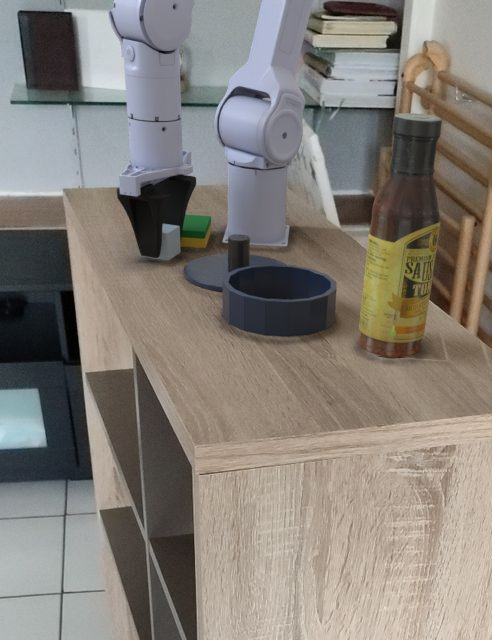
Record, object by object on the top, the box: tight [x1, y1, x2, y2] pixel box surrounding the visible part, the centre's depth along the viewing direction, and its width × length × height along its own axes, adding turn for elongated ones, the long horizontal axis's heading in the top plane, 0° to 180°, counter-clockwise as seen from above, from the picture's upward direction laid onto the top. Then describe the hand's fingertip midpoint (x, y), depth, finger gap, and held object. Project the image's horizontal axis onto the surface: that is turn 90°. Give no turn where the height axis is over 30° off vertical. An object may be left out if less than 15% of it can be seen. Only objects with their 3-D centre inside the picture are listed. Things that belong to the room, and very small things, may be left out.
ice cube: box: [141, 224, 181, 261], centre depth 104 cm, size 4×4×4 cm
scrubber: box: [180, 214, 212, 249], centre depth 110 cm, size 7×4×2 cm, turn 179°
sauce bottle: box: [358, 112, 443, 359], centre depth 80 cm, size 6×6×20 cm
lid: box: [183, 234, 288, 293], centre depth 99 cm, size 12×12×5 cm
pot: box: [222, 264, 338, 338], centre depth 90 cm, size 11×11×4 cm
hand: (160, 249), depth 104 cm, fingers open, 5 cm apart
